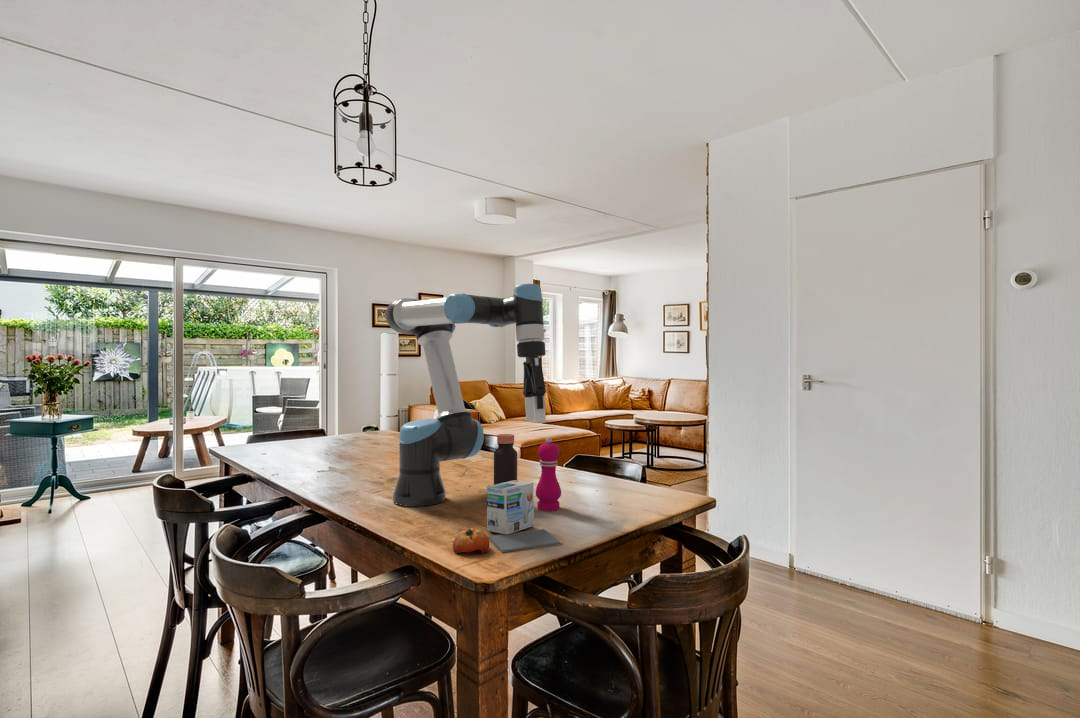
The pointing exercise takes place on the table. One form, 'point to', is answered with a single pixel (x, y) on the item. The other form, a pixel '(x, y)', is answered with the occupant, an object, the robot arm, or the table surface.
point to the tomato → (471, 541)
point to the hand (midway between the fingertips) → (535, 421)
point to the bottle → (505, 459)
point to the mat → (523, 540)
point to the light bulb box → (510, 507)
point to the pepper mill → (548, 477)
